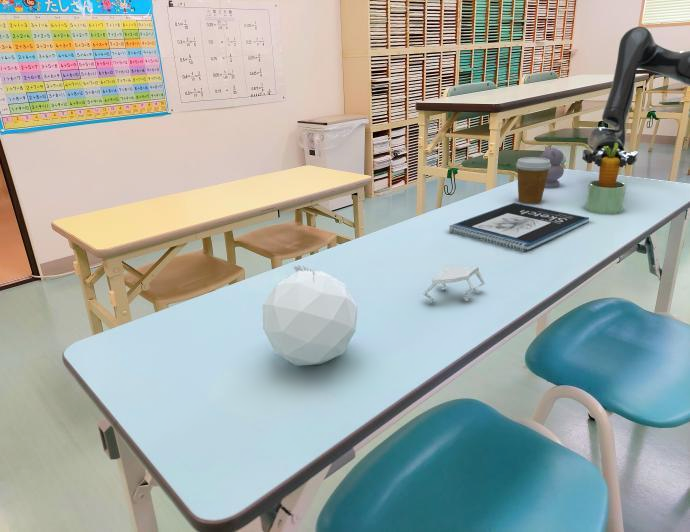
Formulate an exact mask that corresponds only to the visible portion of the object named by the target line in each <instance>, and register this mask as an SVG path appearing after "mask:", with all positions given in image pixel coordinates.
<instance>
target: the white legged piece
mask: <svg viewBox="0 0 690 532" xmlns="http://www.w3.org/2000/svg"><path fill="white" fill-rule="evenodd" d="M473 275H476V277H477V278H478V279H479V281H480V284H479V285H476V286H473V284H472V282H471V280H470V278H472V276H473ZM462 281H466V283H467V285H468V287H469V288H468V290H467V291H466V292H465V294H464V296H463V299H464V301H465V302H468V301H469V298H468V297H467V295H468V294H469V293H470V292H471V291H472V290H473V291H474V292H475V293H476V294H479V293H480V292H479V291H478V290H477V289H478V288H480V287H481V286H484V285H485V284H486V282H485V280H484V278H483V276H482V273H481V272H480V269H479V266H477V267H476V266H467V267H466V266H464V267H460V266H459V267H457V266H448V265H446V266H445V268H444V269H443V270H442V271H441V272H440V273H439V274H438V275H437V276H436V278H433V279H432V282H431V284H430V285H429V287H428V288H427V289H426V290H424V291H423V292H422V295H423V296H425V297H426V298H428V299H429V300H431V301H429V302H428V304H432V303H434V302H436V299H435V298H434V297H432V295H429V294H428V293H429V292H430V291H431V290H432V289H434V288H435V287H436V286H437V285H440V284H441V285H442V288H441V290H442V291H444V290H447V285H446V284H452V283H457V282H462Z"/></svg>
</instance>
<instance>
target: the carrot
mask: <svg viewBox="0 0 690 532" xmlns="http://www.w3.org/2000/svg"><path fill="white" fill-rule="evenodd" d="M603 149H605V151H606V153H607V155H608V157H604V158H602V160H601V166H599V170H598V171H599V172H598V180H599V187H605V188H613V187H614V185H615V182H616V181H617V179H618V176H619V170H620V160H619V158H616V157H614V155H615V153H616V151H617V149H618V143H615V144H614V148H613V151H612V153H611V150H610V149H609V147H608V146H606V147H605V146H604V147H603Z"/></svg>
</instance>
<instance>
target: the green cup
mask: <svg viewBox="0 0 690 532" xmlns="http://www.w3.org/2000/svg"><path fill="white" fill-rule="evenodd" d="M626 191H627V184H626V183H624V182H621V181H617V180H616V182H615V185H614V187H613V188H605V187H599V179H598V180H596V179H595V180H592V181H589V182H588V185H587V192H586V198H585V199H586V200H585V210H587V211H588V212H591V213H594V214H601V215H616V214H620V213H622V212H623V209H624V203H625V196H626Z"/></svg>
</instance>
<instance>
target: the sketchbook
mask: <svg viewBox="0 0 690 532" xmlns="http://www.w3.org/2000/svg"><path fill="white" fill-rule="evenodd" d="M589 222H590V217H588V216H583V215H577V214H573V213H567V212H563V211H557V210H552V209H547V208H543V207H539V206H532V205H529V204H528V205H527V204H524V203H517V202H512V203H509V204H507V205H503V206H501V207H498V208H496V209H493V210H490V211H487V212H484V213H482V214H479V215H475V216H473V217H470V218H467V219H465V220H462V221H459V222H456V223H453V224H450V225H449V226H448V227H449V229H448V230H449V232H450V233H454V234H457V235H460V236H466V237H468V238H472V239H477V240H480V241H483V242H487V243H490V244H491V243H493V244H494V245H495V244H496V245H499V246H502V247H506V248H509V249H513V250H516V251H520V252H526V251H527V252H528V251H529V250H532V249H535V248H536V247H538V246H540V245H543V244H545V243H547V242H549V241H551V240H553V239H555V238H558V237H560V236H562V235H564V234H566V233H568V232H570V231H572V230H575V229H577V228H578V227H579V228H580V227H581V226H583V225H586V224H587V223H589Z"/></svg>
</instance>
